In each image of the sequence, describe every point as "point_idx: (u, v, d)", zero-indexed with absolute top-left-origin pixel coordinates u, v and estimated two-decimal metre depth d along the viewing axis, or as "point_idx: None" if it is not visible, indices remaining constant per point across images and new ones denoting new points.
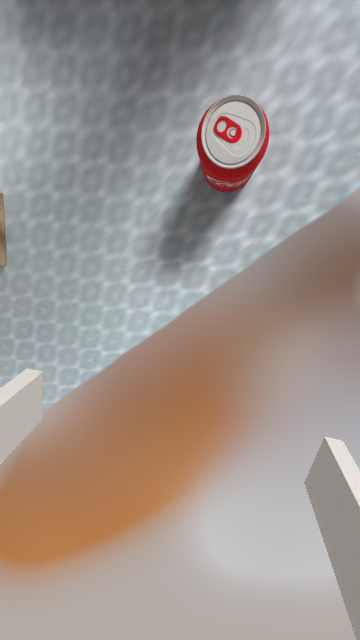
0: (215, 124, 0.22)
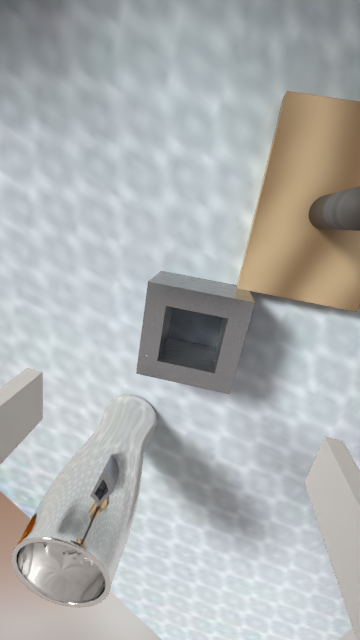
0: None
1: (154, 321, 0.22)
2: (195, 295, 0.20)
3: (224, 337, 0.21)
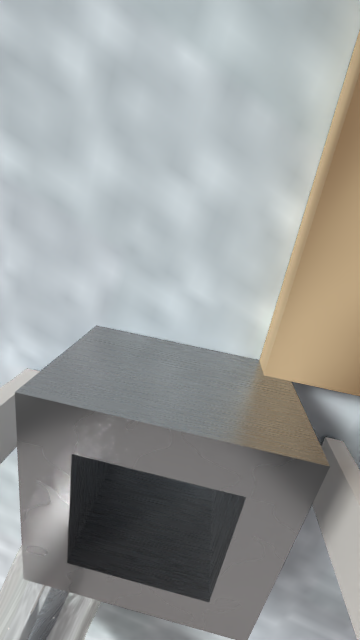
0: None
1: (46, 484, 0.08)
2: (151, 436, 0.07)
3: (234, 536, 0.08)
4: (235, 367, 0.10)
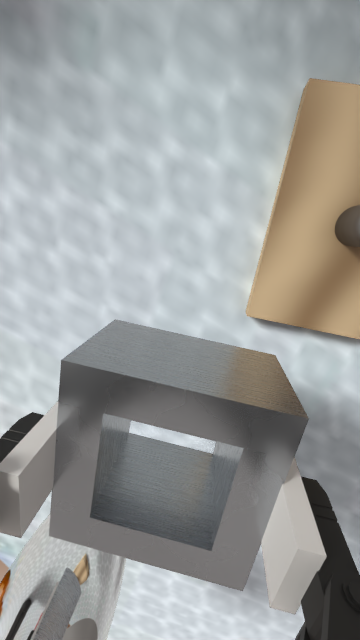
0: None
1: (79, 441, 0.10)
2: (169, 396, 0.09)
3: (234, 485, 0.09)
4: (234, 354, 0.12)
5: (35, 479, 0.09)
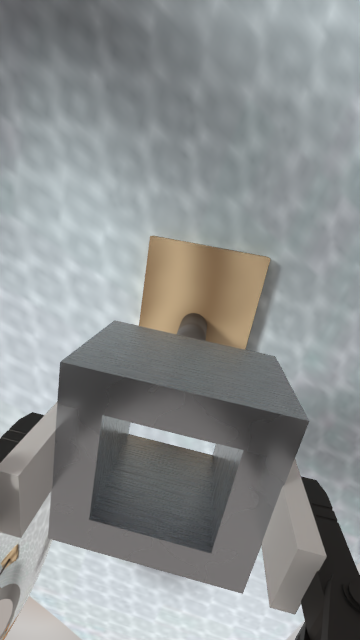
0: None
1: (78, 443, 0.10)
2: (169, 398, 0.09)
3: (234, 487, 0.09)
4: (234, 355, 0.12)
5: (35, 479, 0.09)
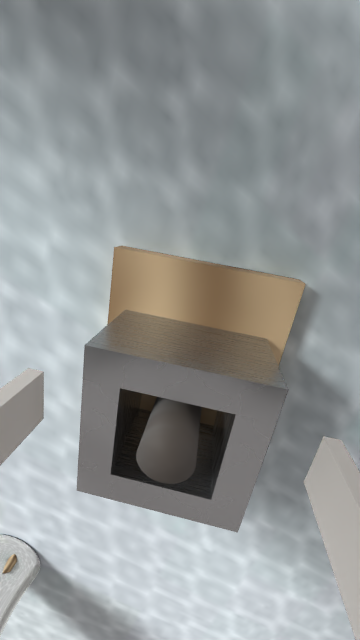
0: None
1: (101, 411, 0.12)
2: (174, 373, 0.11)
3: (228, 445, 0.11)
4: (230, 338, 0.14)
5: None
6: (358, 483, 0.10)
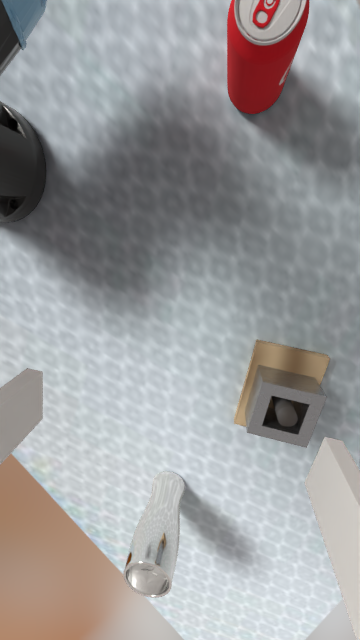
0: (259, 26, 0.21)
1: (263, 403, 0.36)
2: (290, 391, 0.35)
3: (306, 414, 0.35)
4: (301, 377, 0.38)
5: None
6: (359, 484, 0.10)
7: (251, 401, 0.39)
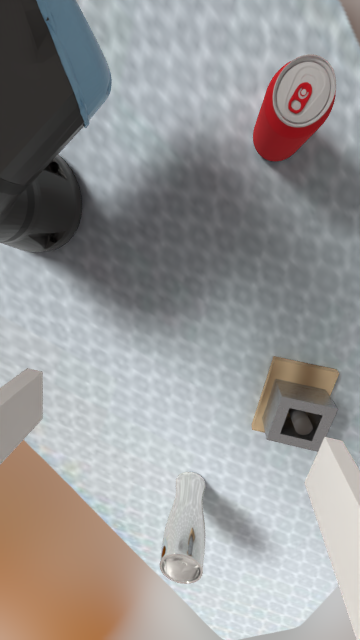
0: (294, 112, 0.24)
1: (281, 414, 0.41)
2: (306, 404, 0.40)
3: (319, 424, 0.40)
4: (314, 390, 0.43)
5: None
6: (359, 484, 0.10)
7: (269, 411, 0.44)
